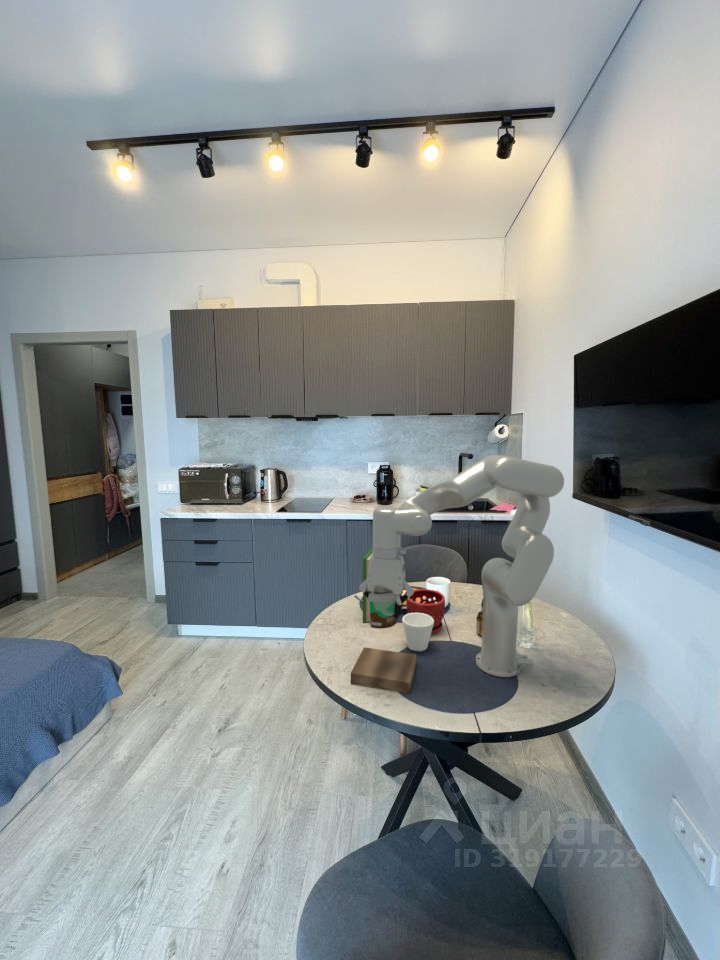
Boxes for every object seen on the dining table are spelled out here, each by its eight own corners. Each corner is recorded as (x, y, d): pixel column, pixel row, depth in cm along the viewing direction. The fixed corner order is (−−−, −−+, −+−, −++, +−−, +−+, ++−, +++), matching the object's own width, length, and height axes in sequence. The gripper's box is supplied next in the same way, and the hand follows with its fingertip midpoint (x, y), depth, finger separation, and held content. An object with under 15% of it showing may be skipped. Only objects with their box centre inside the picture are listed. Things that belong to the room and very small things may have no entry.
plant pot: (404, 620, 148) (405, 588, 147) (441, 620, 147) (441, 588, 146) (407, 637, 135) (408, 603, 134) (447, 638, 134) (448, 603, 133)
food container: (388, 635, 106) (388, 598, 105) (367, 629, 109) (368, 593, 108) (408, 617, 116) (408, 583, 115) (389, 612, 120) (389, 579, 118)
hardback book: (382, 626, 143) (383, 559, 140) (362, 623, 145) (363, 557, 143) (393, 606, 160) (394, 546, 157) (375, 603, 162) (375, 545, 159)
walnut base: (416, 664, 119) (416, 654, 119) (409, 693, 106) (409, 682, 105) (363, 656, 123) (363, 647, 123) (350, 683, 110) (350, 673, 109)
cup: (424, 637, 135) (425, 610, 134) (439, 652, 126) (440, 624, 125) (396, 641, 132) (397, 614, 131) (409, 657, 123) (410, 628, 122)
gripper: (419, 550, 112) (418, 613, 114) (359, 546, 116) (359, 606, 118) (416, 558, 105) (415, 625, 107) (352, 553, 109) (352, 617, 111)
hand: (385, 615), depth 112 cm, fingers closed on food container, 5 cm apart
